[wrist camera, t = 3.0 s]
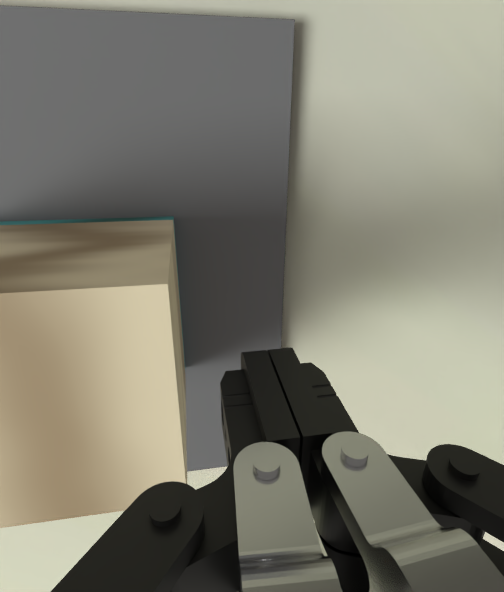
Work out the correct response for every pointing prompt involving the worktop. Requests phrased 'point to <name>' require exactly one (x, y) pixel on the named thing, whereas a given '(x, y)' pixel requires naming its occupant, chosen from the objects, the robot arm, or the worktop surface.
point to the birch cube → (88, 366)
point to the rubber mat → (162, 162)
